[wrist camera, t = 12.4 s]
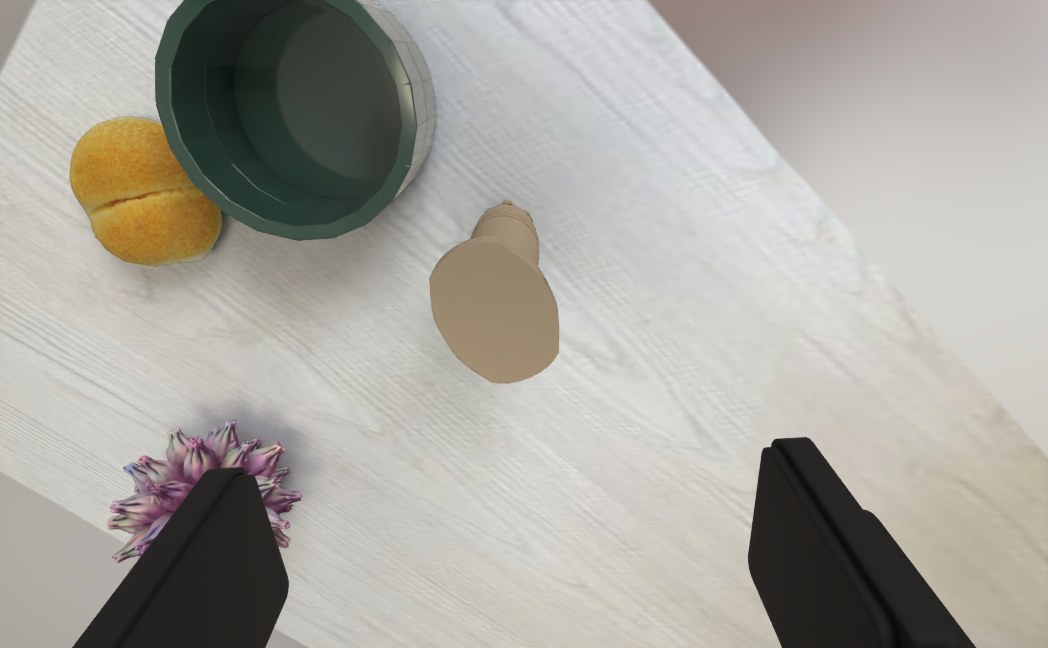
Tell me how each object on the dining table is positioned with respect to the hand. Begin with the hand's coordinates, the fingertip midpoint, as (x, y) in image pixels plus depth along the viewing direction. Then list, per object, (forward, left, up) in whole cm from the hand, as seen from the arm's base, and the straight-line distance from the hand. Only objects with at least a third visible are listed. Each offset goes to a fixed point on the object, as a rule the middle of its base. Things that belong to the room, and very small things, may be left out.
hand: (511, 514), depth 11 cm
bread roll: (-2, -23, -29) cm, 37 cm away
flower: (+19, -23, -29) cm, 42 cm away
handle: (+2, -1, -29) cm, 29 cm away
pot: (-6, -11, -29) cm, 31 cm away
